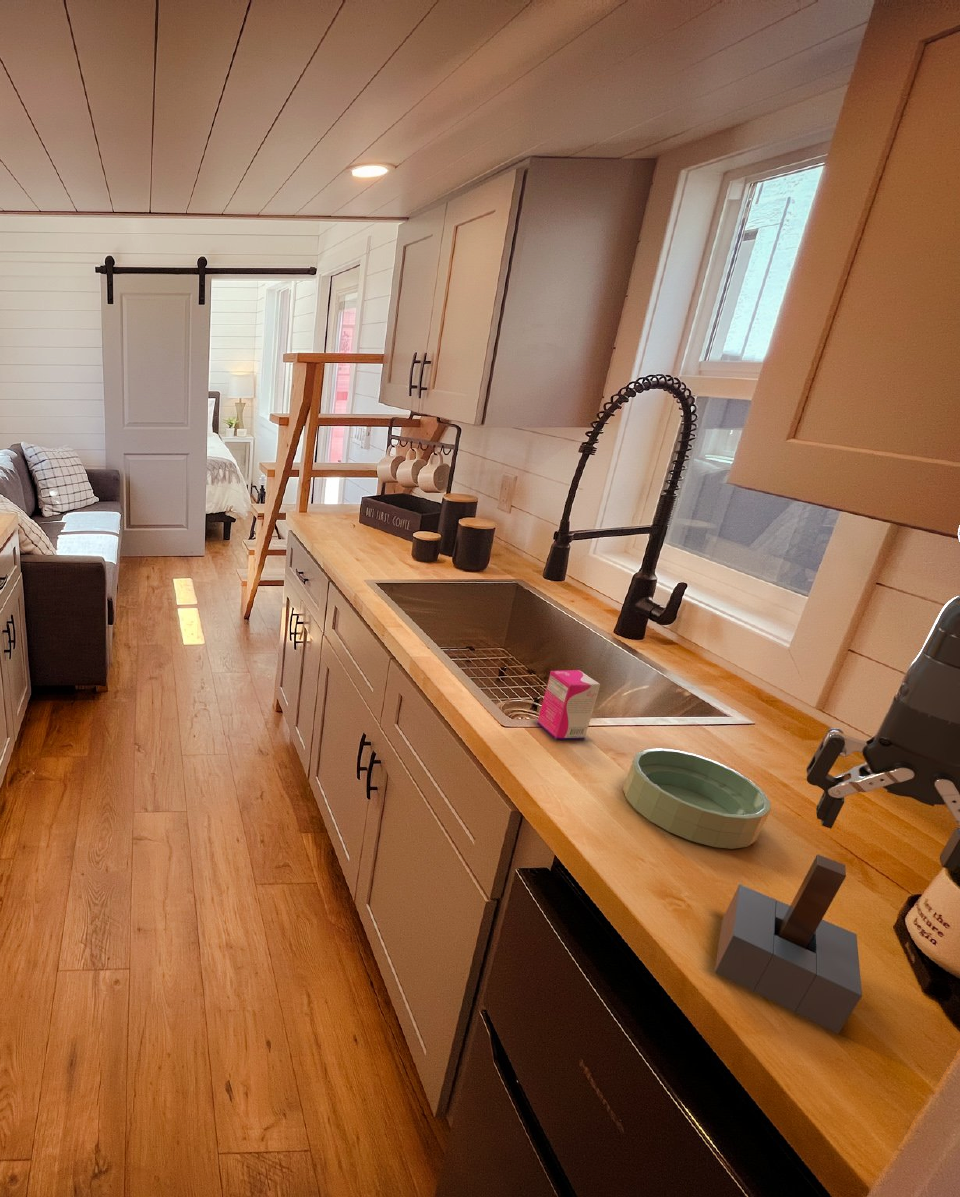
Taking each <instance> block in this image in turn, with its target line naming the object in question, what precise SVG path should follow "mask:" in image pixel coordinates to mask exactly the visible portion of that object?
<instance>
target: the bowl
mask: <svg viewBox="0 0 960 1197" xmlns="http://www.w3.org/2000/svg"><path fill="white" fill-rule="evenodd" d="M622 790H623V793H624V796H625V799H626V800H627V802H628V803H629V804H630V805H631V806H632V807H633V809H634V810H635V811H636V812H638V813H639V814H640V815H641V816H643V817H645V818H646V820H648V821H650V822H651V823H653V824H654V825H656V826H658V827H660V828H662V829H663V830H665V831H667V832H669V833H670V834H674V835H676V836H678V837H681V838H683V839H685V840H688V841H690V842H694V843H697V844H700V845H706V846H709V847H713V848H720V849H721V848H722V849H730V850H731V849H732V850H733V849H741V848H747V847H750V846H751V845H752V844H754V843H755V842H756V841H757V840H758V837H759V836H760V833H761V831H762V829H763V827H764V825H765V823H766V820H768V817H769V815H770V812H771V806H772V801H771V800H770V799H769V797H768V795H767V794H766V792H765V791H764V790H763V789H762V788H760V787H759V786H758V785H757V783H755V782H754V781H753V780H751V779H750V778H749V777H746V776H745V775H743V774H742V773H740V772H739V771H737V770H735V769H733V768H732V767H729V766H726V765H725V764H722V763H721V762H718V761H716V760H713V759H710V758H708V757H704V756H702V755H698V754H695V753H692V752H687V751H682V750H677V749H669V748H662V747H661V748H660V747H657V748H656V747H655V748H648V749H643V750H642V751H638V752H637V753H635V754H634V757H633V760H632V762H631V765H630V768H629V770H628V773H627V776H626V779H625V780H624V784H623V787H622Z"/></svg>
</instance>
